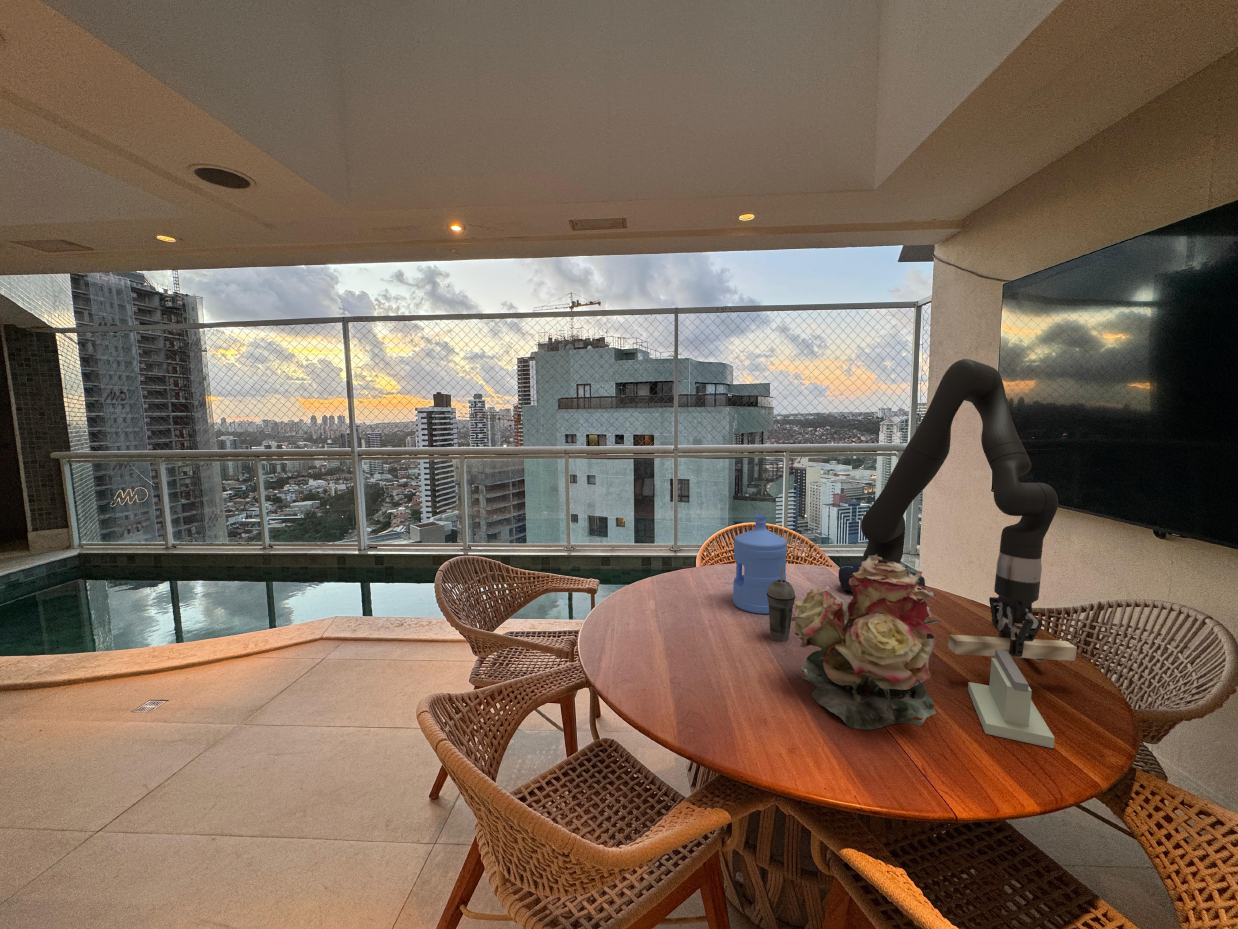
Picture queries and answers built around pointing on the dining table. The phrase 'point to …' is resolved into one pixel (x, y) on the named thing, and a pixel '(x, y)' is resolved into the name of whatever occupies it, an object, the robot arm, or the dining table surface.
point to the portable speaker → (854, 567)
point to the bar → (990, 644)
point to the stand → (1009, 704)
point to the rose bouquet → (870, 646)
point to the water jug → (757, 566)
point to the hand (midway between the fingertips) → (1009, 651)
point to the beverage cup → (780, 608)
